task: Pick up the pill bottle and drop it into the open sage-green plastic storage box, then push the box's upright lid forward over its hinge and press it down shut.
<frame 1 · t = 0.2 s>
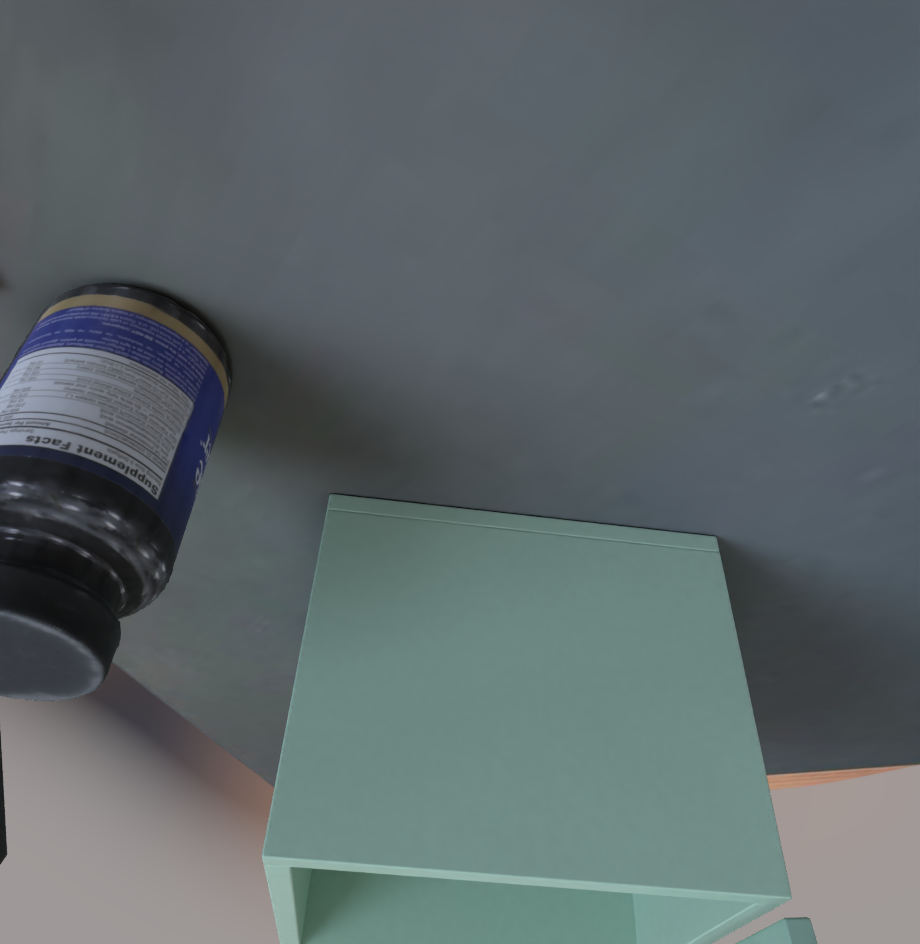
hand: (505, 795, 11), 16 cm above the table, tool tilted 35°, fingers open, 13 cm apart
pill bottle: (142, 349, 26), on the table
box: (498, 603, 37), on the table
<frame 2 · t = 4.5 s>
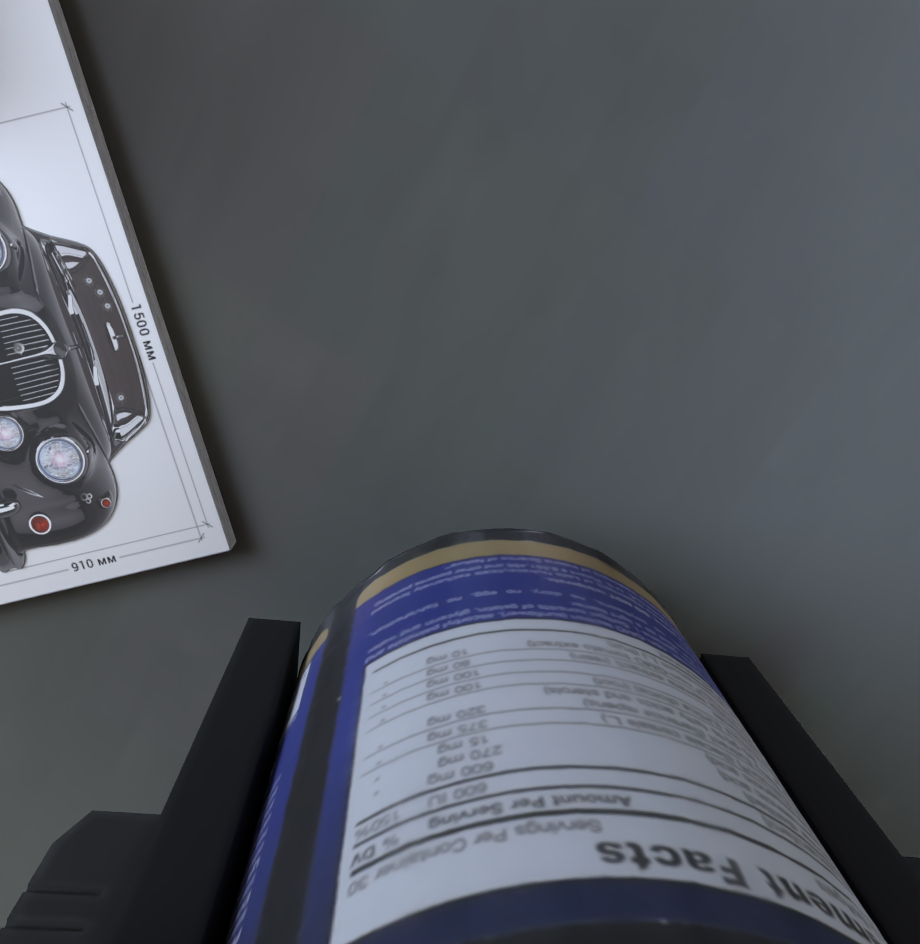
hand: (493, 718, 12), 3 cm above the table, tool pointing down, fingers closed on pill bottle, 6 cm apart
pill bottle: (492, 689, 13), point 2 cm above the table, touching gripper
when the fingers open (13 cm above the table, at t = 12.8 s): pill bottle stays where it is, resting on box.
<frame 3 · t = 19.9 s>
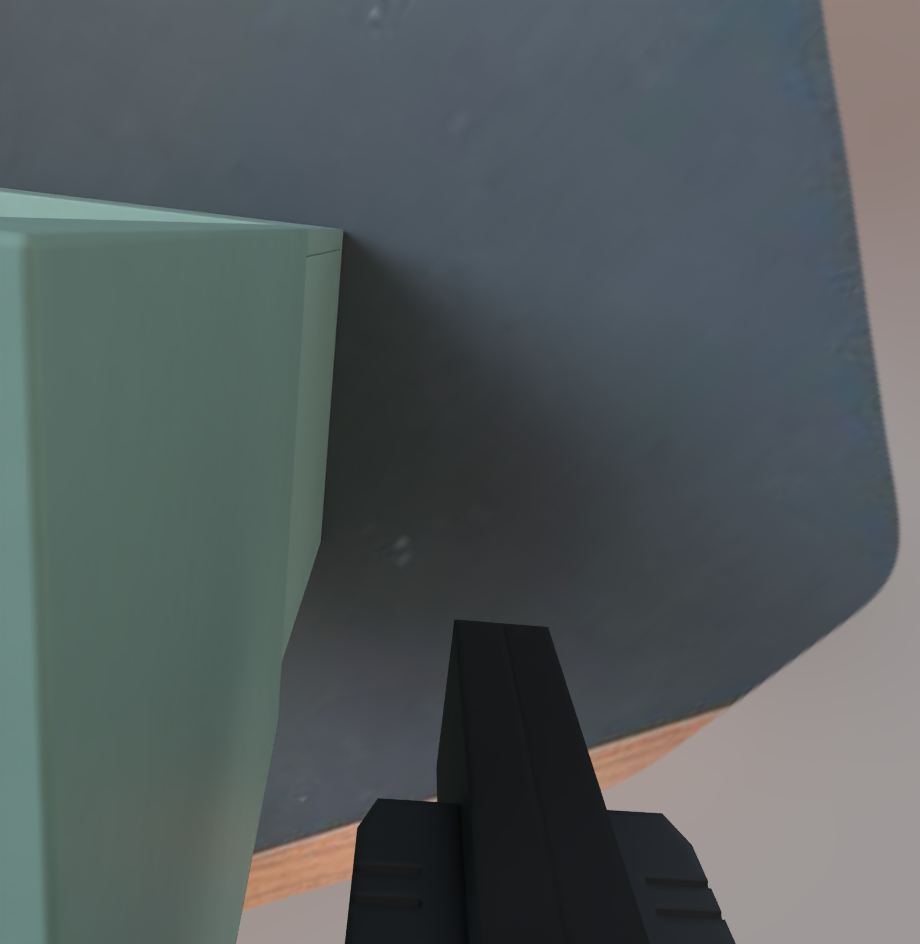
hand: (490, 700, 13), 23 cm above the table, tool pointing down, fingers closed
lid: (218, 654, 13), point 22 cm above the table, hinge at 93.3°, touching gripper
box: (144, 375, 34), on the table
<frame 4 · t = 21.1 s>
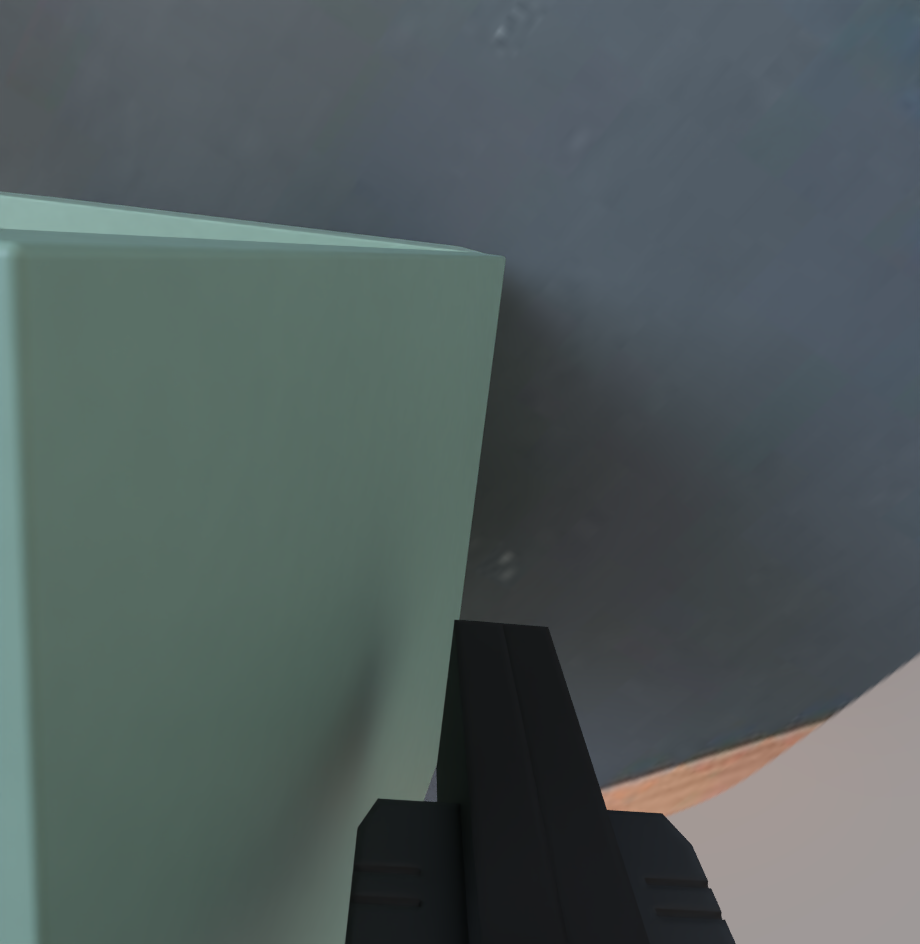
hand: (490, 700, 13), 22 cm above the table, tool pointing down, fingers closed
lid: (361, 674, 13), point 22 cm above the table, hinge at 76.5°, touching gripper
box: (257, 391, 34), on the table
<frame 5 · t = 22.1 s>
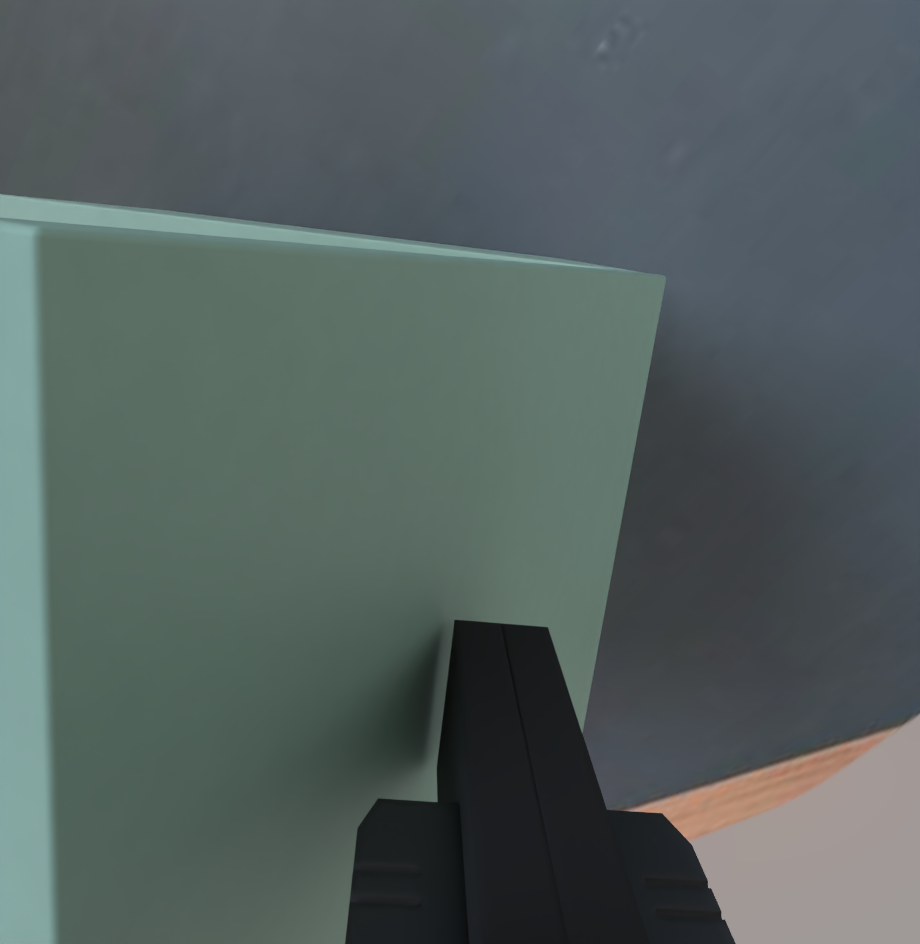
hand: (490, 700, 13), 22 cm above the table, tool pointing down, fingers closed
lid: (457, 653, 14), point 21 cm above the table, hinge at 58.9°, touching gripper
box: (352, 401, 34), on the table
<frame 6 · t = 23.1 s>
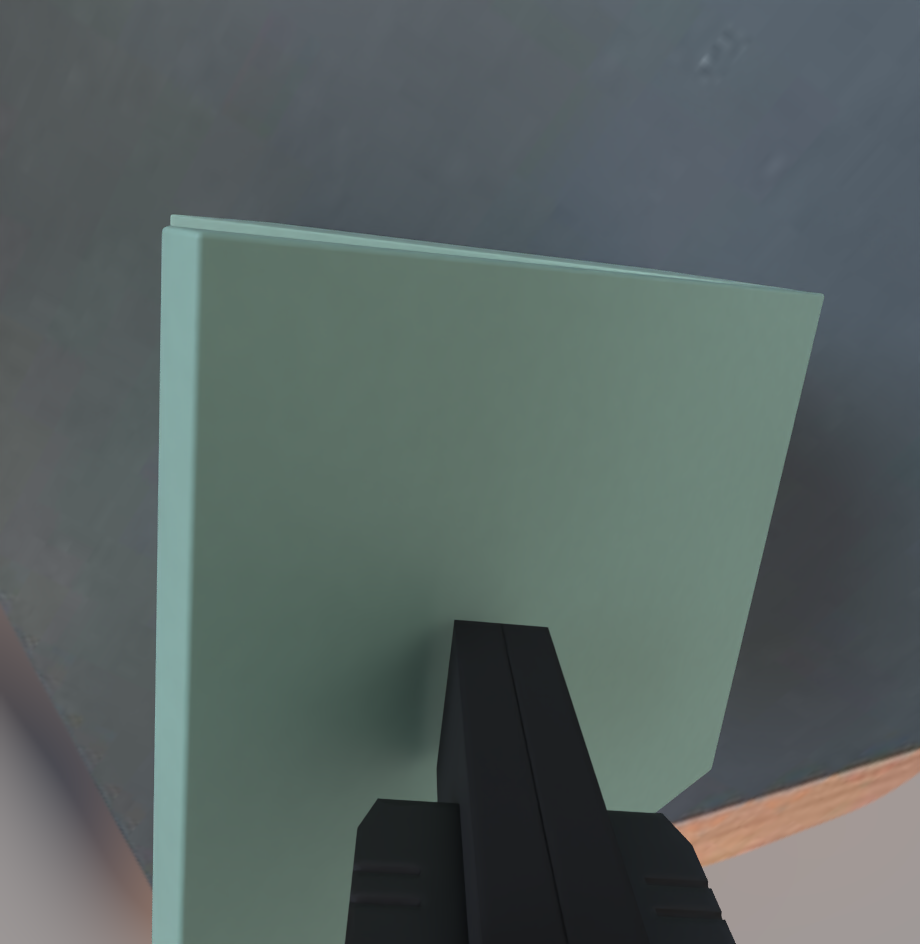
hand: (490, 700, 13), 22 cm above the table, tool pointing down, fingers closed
lid: (563, 622, 16), point 19 cm above the table, hinge at 42.2°, touching gripper
box: (446, 410, 34), on the table
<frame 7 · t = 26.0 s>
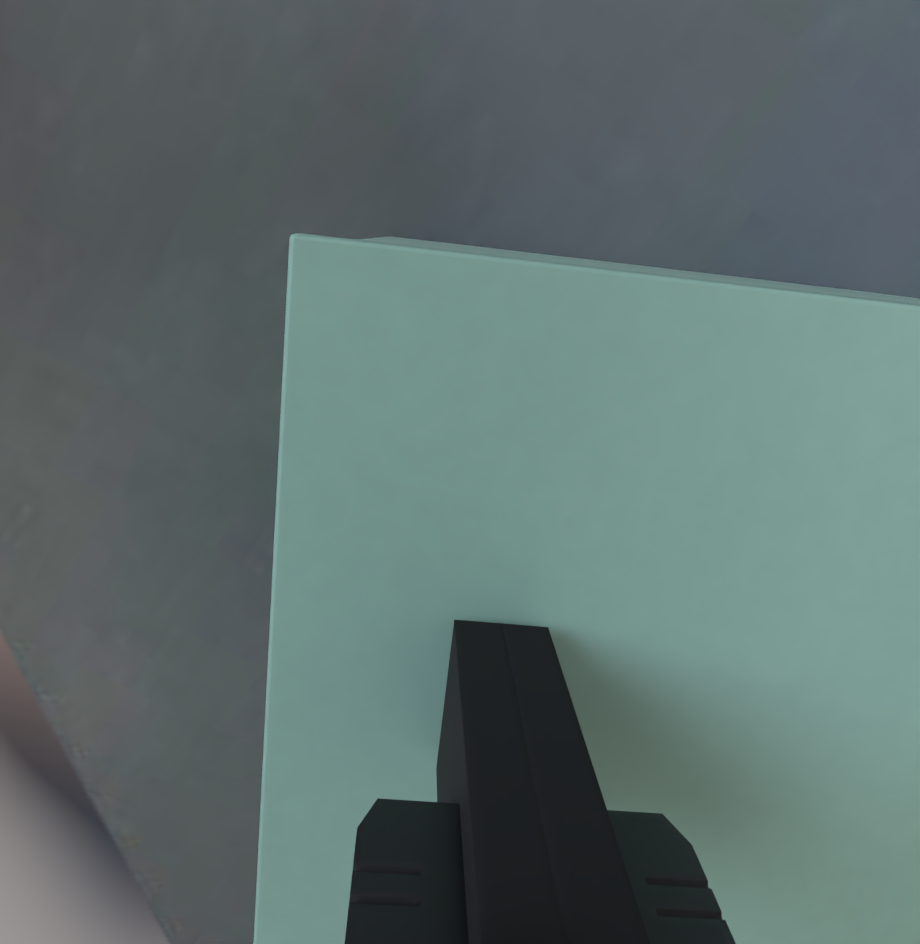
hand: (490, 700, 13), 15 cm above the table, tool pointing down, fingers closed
lid: (748, 692, 14), point 14 cm above the table, hinge at 1.6°, touching gripper
box: (599, 468, 27), on the table
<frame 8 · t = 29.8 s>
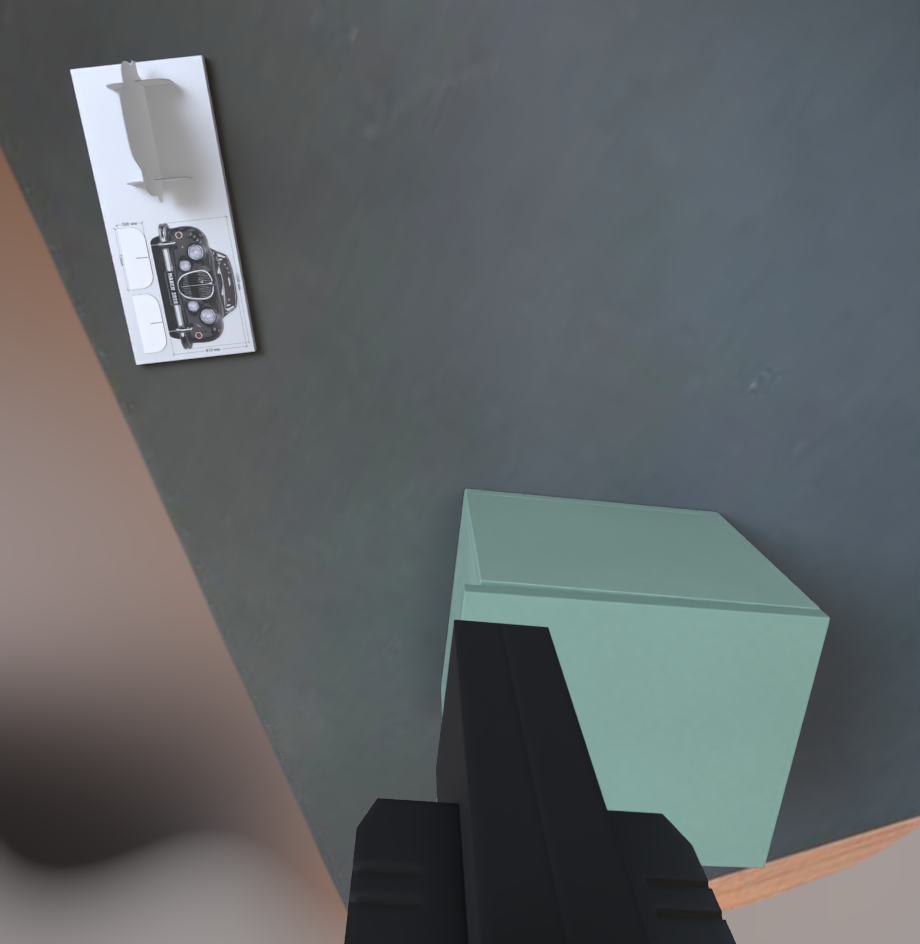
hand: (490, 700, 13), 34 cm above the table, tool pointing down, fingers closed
lid: (623, 734, 37), point 14 cm above the table, hinge at 1.6°
car cutout: (170, 217, 43), on the table
box: (575, 602, 50), on the table
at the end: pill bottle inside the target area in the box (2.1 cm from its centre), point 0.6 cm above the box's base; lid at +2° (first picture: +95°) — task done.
